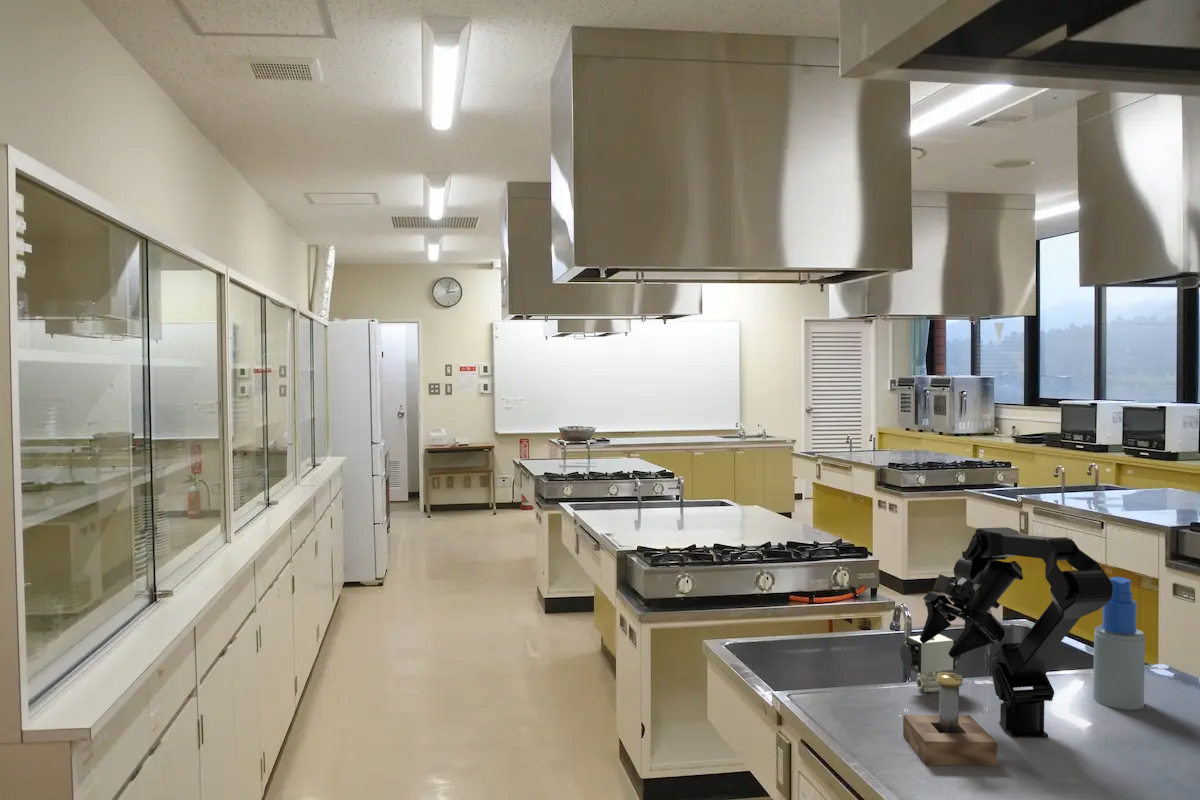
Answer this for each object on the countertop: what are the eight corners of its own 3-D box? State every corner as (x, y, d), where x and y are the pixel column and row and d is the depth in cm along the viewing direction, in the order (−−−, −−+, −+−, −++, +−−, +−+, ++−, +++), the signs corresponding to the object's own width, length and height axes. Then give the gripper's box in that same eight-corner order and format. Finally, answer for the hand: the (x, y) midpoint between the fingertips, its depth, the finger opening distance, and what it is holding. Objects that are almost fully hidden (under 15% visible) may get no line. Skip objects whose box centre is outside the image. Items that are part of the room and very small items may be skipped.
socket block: (969, 737, 164) (969, 715, 164) (996, 765, 152) (996, 742, 152) (903, 736, 165) (903, 714, 165) (925, 764, 153) (925, 741, 153)
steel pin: (956, 745, 161) (957, 672, 160) (964, 755, 156) (965, 680, 156) (932, 745, 161) (933, 671, 160) (940, 755, 156) (941, 679, 156)
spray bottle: (1094, 690, 188) (1096, 572, 188) (1144, 699, 184) (1146, 577, 183) (1091, 703, 181) (1093, 580, 180) (1143, 712, 176) (1145, 585, 175)
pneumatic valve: (961, 691, 188) (961, 634, 188) (912, 696, 185) (912, 638, 185) (944, 682, 193) (945, 627, 193) (896, 687, 190) (897, 631, 190)
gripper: (932, 551, 182) (882, 608, 180) (992, 570, 164) (938, 634, 162) (965, 587, 185) (917, 645, 182) (1029, 611, 166) (976, 674, 164)
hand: (935, 648), depth 173 cm, fingers open, 9 cm apart
